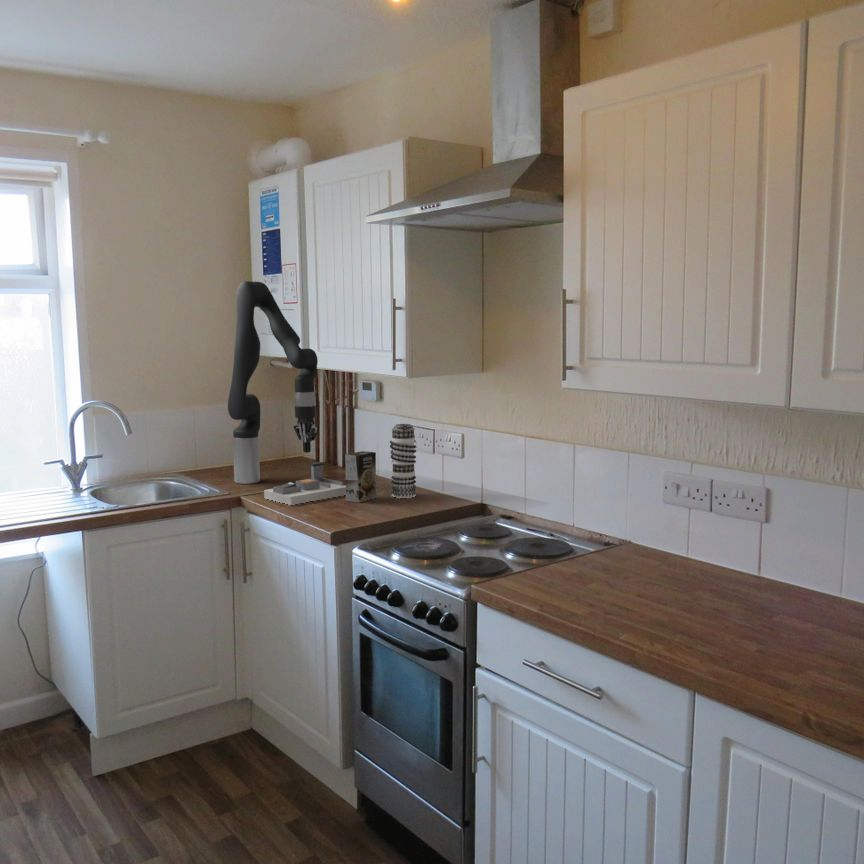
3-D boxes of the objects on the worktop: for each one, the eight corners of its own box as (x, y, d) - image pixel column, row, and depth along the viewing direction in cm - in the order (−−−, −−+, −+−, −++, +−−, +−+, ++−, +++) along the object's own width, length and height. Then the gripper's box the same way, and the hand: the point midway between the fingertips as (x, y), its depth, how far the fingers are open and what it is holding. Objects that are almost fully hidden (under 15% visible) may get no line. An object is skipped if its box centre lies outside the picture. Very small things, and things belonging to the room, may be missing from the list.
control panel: (264, 498, 293) (263, 483, 292) (323, 488, 310) (322, 473, 309) (291, 505, 281) (290, 489, 281) (350, 494, 299) (350, 479, 298)
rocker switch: (277, 490, 289) (277, 486, 289) (290, 485, 292) (289, 481, 292) (283, 491, 286) (283, 488, 286) (296, 486, 290) (295, 483, 289)
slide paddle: (310, 482, 305) (310, 463, 304) (320, 480, 308) (320, 462, 307) (313, 483, 303) (313, 464, 302) (323, 481, 306) (323, 462, 305)
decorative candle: (388, 493, 299) (388, 423, 296) (415, 492, 301) (414, 422, 298) (392, 499, 290) (391, 426, 287) (418, 498, 292) (418, 425, 289)
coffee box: (359, 503, 285) (358, 455, 283) (345, 500, 289) (344, 453, 287) (377, 498, 292) (376, 451, 290) (363, 496, 296) (362, 450, 294)
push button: (299, 487, 295) (299, 480, 295) (309, 485, 298) (308, 479, 298) (306, 489, 292) (306, 482, 292) (315, 487, 295) (315, 480, 295)
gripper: (285, 404, 308) (287, 451, 310) (307, 406, 299) (309, 455, 301) (303, 402, 313) (304, 449, 316) (324, 404, 304) (326, 452, 306)
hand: (306, 452), depth 308 cm, fingers closed
